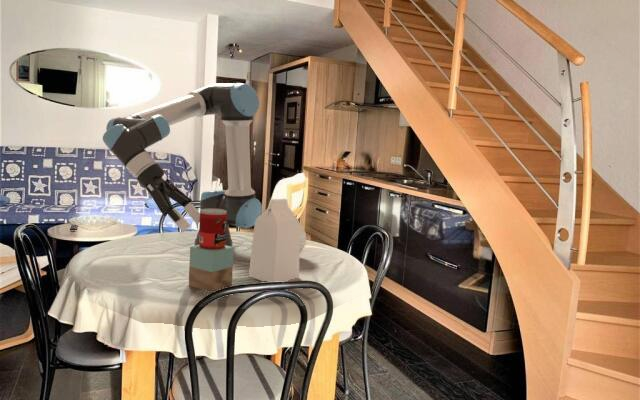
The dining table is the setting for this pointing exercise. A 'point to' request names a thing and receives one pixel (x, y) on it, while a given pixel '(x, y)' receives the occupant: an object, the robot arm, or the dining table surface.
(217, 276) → the walnut block
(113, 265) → the dining table surface
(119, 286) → the dining table surface
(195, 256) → the teal block
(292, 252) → the milk
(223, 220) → the canned food
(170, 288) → the dining table surface
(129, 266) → the dining table surface
